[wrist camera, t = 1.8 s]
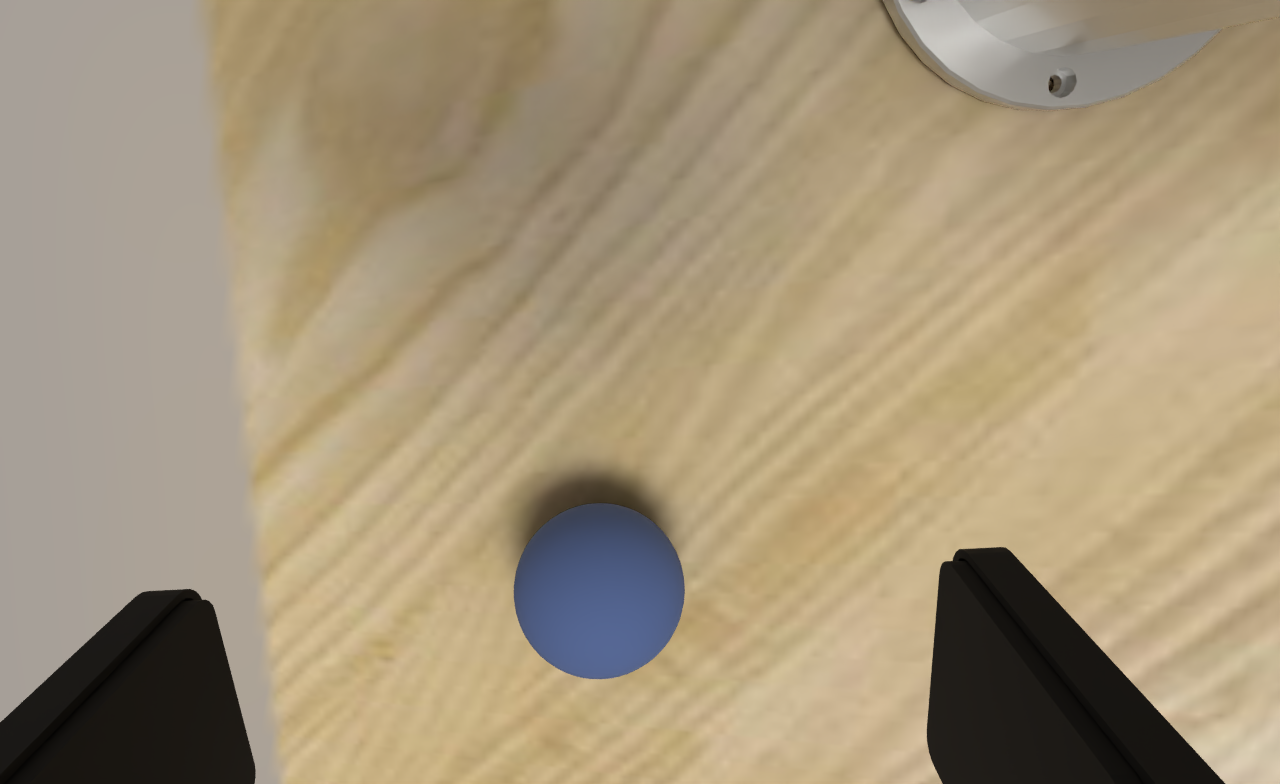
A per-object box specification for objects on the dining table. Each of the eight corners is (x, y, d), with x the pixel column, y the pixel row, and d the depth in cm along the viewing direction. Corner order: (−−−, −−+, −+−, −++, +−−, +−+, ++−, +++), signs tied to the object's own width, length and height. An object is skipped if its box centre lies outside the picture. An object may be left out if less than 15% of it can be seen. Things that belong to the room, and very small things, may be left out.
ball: (519, 477, 29) (494, 559, 23) (678, 474, 29) (691, 554, 24) (529, 615, 31) (508, 721, 25) (679, 610, 31) (691, 715, 25)
